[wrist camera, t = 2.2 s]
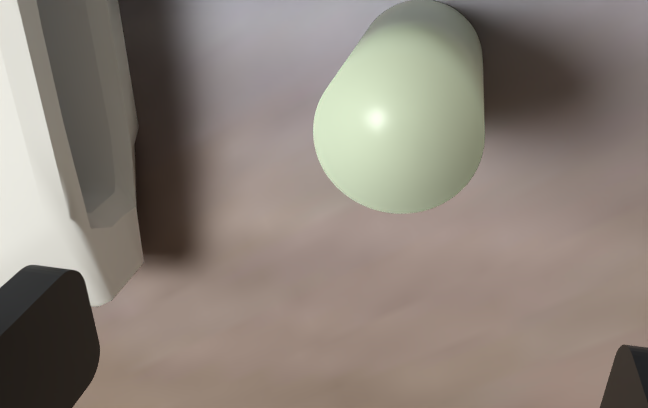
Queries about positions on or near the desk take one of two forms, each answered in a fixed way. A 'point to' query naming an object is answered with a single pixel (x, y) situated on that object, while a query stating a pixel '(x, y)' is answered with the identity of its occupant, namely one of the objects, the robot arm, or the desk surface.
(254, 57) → the desk surface
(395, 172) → the mint green capsule
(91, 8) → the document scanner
